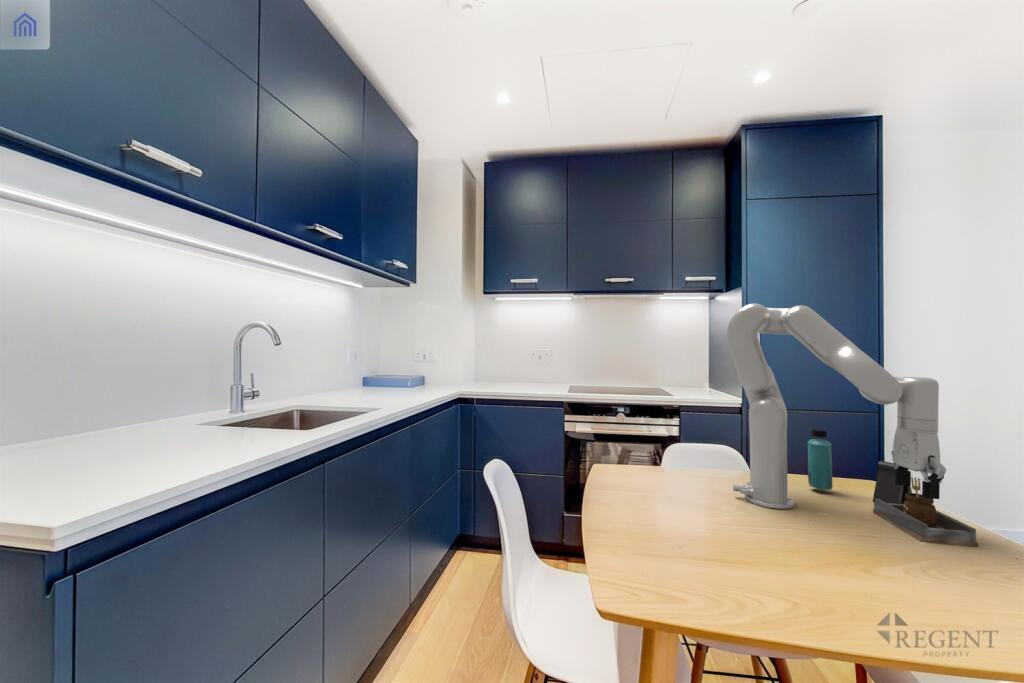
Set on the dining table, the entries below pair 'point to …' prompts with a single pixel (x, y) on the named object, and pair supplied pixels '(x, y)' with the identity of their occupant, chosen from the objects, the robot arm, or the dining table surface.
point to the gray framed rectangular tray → (941, 533)
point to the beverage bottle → (819, 461)
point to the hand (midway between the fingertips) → (916, 491)
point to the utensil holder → (920, 506)
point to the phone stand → (889, 485)
